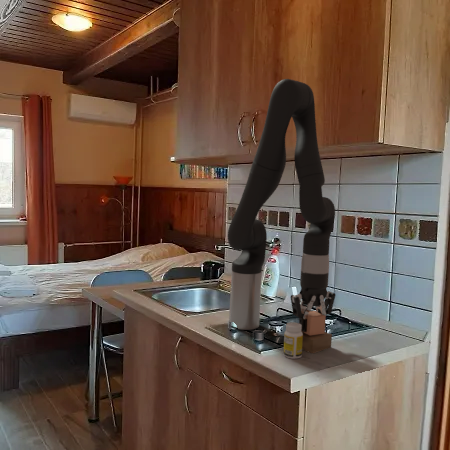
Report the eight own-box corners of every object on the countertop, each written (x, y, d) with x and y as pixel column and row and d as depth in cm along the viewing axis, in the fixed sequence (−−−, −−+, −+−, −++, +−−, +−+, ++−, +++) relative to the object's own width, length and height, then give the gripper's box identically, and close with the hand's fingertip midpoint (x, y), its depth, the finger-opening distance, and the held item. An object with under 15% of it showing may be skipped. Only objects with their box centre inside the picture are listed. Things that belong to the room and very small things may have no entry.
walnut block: (290, 345, 130) (290, 331, 130) (308, 339, 135) (309, 326, 135) (312, 354, 124) (313, 340, 124) (331, 348, 129) (331, 334, 129)
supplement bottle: (299, 352, 124) (301, 321, 124) (303, 359, 120) (305, 327, 119) (282, 352, 124) (283, 321, 123) (284, 359, 120) (286, 327, 119)
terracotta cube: (298, 329, 130) (299, 312, 130) (313, 327, 132) (314, 310, 132) (309, 335, 126) (310, 317, 125) (324, 333, 128) (325, 315, 127)
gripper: (326, 265, 134) (323, 323, 136) (285, 268, 127) (282, 328, 129) (344, 271, 127) (340, 331, 129) (301, 274, 121) (298, 337, 123)
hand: (311, 329), depth 129 cm, fingers closed on terracotta cube, 5 cm apart
